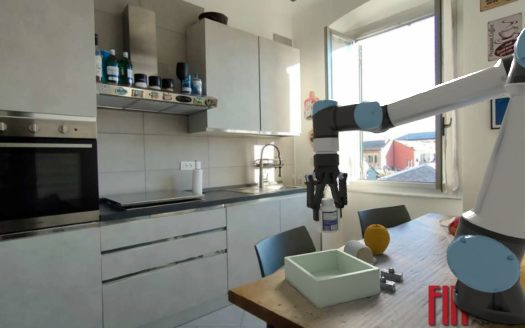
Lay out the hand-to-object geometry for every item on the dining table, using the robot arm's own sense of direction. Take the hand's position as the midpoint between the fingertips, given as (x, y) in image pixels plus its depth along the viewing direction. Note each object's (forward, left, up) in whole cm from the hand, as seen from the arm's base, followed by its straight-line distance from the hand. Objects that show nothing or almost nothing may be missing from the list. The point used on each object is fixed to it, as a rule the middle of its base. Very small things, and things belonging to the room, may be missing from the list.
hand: (328, 230), depth 86 cm
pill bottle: (0, 0, -1) cm, 1 cm away
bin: (0, 0, -17) cm, 17 cm away
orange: (+16, -33, -17) cm, 41 cm away
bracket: (-6, -17, -17) cm, 24 cm away
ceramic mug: (+11, -21, -17) cm, 29 cm away
